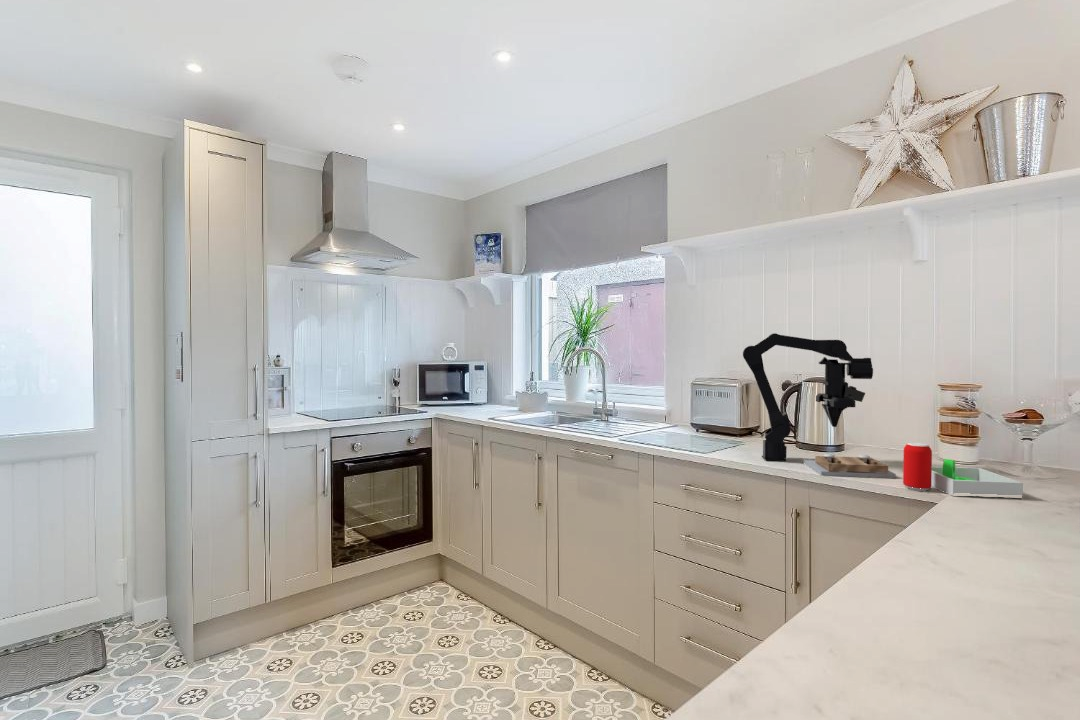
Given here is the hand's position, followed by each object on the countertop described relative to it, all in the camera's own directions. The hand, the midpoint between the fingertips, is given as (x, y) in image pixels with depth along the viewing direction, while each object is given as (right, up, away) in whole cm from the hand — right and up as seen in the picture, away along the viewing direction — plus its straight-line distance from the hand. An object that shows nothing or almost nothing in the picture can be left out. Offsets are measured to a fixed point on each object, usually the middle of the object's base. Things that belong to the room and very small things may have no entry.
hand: (834, 426), depth 178 cm
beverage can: (+5, -13, -32) cm, 35 cm away
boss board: (-1, -12, -9) cm, 15 cm away
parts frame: (+18, -13, -32) cm, 39 cm away
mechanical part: (+17, -13, -31) cm, 38 cm away
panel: (-2, -11, -12) cm, 16 cm away
